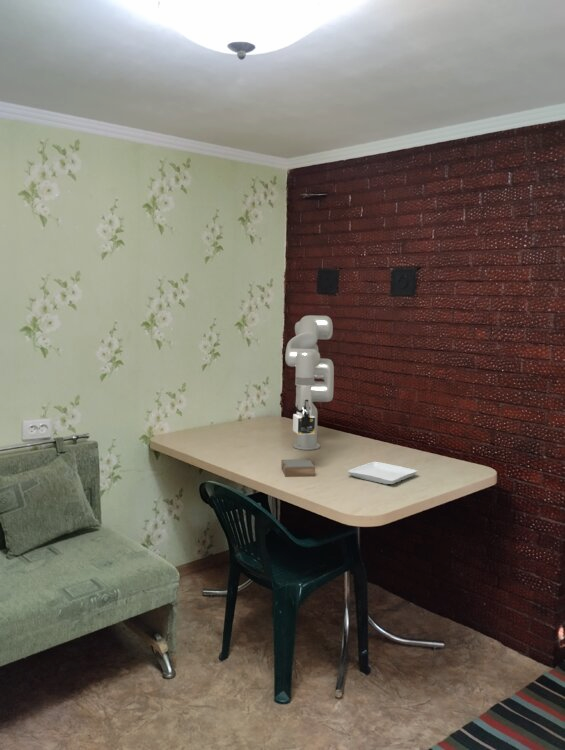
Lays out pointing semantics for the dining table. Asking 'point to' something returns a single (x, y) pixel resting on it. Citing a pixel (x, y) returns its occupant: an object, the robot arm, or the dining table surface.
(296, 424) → the medicine bottle
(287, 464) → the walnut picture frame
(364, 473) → the salad plate
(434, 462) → the dining table surface
